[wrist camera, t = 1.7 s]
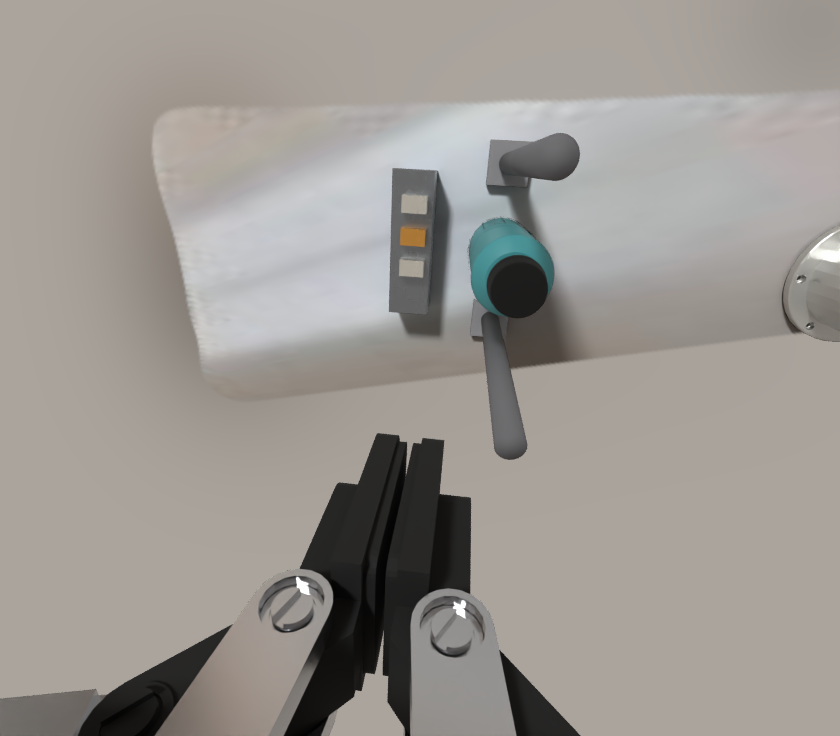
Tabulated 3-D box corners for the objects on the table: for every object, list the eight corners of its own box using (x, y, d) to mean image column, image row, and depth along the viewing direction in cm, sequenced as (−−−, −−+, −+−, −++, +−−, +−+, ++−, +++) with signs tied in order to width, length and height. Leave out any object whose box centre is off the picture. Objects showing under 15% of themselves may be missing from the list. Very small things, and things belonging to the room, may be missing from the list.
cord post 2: (531, 142, 43) (611, 110, 20) (525, 186, 45) (592, 205, 21) (490, 140, 44) (520, 105, 20) (486, 184, 45) (508, 200, 22)
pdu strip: (437, 170, 45) (434, 170, 40) (429, 304, 51) (425, 318, 46) (398, 168, 45) (390, 168, 41) (394, 301, 51) (387, 315, 46)
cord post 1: (509, 301, 50) (549, 420, 26) (504, 335, 52) (538, 475, 28) (473, 299, 50) (481, 414, 27) (470, 332, 52) (474, 469, 28)
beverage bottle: (458, 264, 49) (454, 321, 31) (482, 203, 46) (492, 226, 28) (513, 285, 49) (541, 353, 31) (540, 226, 46) (588, 263, 28)
